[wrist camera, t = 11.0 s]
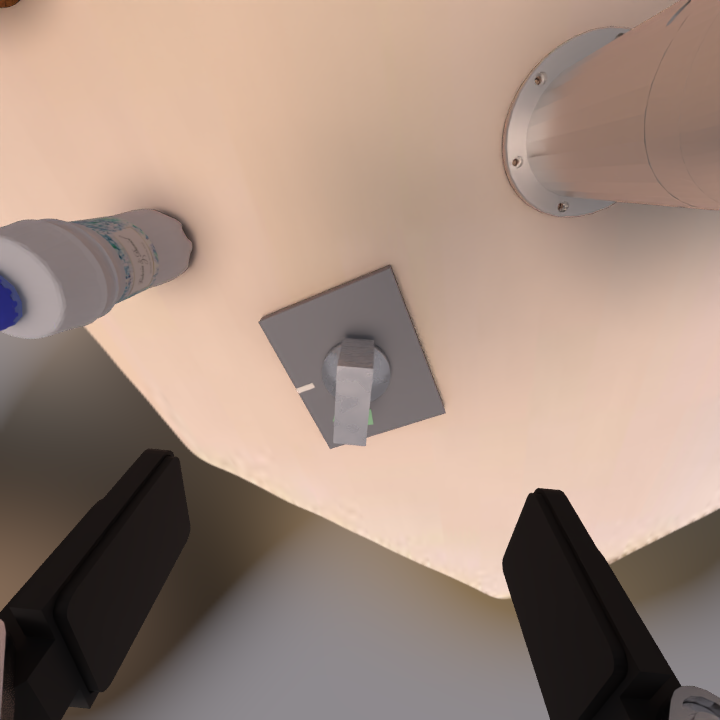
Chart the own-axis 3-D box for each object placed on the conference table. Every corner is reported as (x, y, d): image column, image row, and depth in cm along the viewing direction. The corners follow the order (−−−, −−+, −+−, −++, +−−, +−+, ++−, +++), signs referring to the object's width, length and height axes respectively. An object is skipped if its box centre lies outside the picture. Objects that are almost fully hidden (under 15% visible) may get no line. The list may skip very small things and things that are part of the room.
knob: (394, 338, 36) (397, 370, 30) (383, 424, 41) (384, 468, 35) (324, 332, 36) (312, 363, 30) (321, 419, 41) (311, 462, 35)
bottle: (206, 279, 36) (39, 375, 18) (140, 277, 37) (-89, 371, 19) (193, 205, 33) (-20, 235, 15) (122, 204, 34) (-171, 232, 16)
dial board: (390, 264, 35) (390, 268, 34) (443, 405, 42) (445, 413, 40) (262, 317, 38) (258, 322, 36) (331, 440, 44) (330, 449, 43)
